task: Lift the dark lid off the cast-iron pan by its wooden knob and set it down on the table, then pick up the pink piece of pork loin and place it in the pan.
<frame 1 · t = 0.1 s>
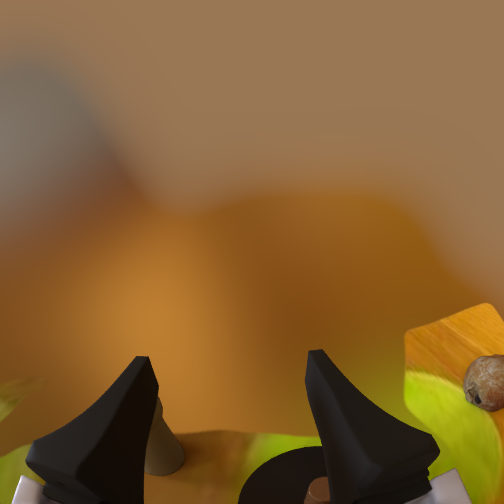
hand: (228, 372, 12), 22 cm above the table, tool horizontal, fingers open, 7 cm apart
cork: (160, 456, 26), on the table
bread roll: (486, 390, 29), on the table
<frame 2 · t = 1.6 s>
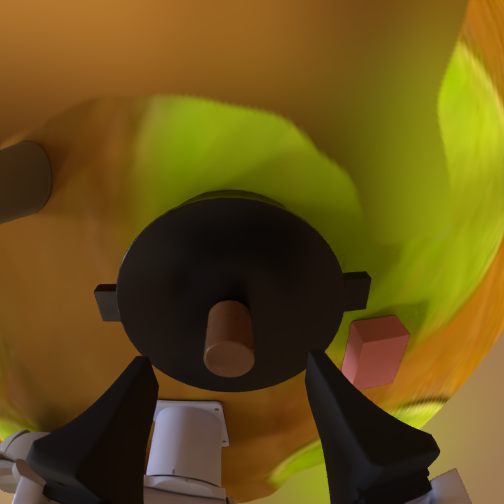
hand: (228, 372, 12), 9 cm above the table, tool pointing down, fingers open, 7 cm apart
pork loin: (368, 343, 24), on the table
pan: (230, 275, 21), on the table
decorative bowl: (79, 449, 32), on the table
pan lid: (230, 311, 17), point 4 cm above the table, touching pan
cork: (26, 177, 17), on the table
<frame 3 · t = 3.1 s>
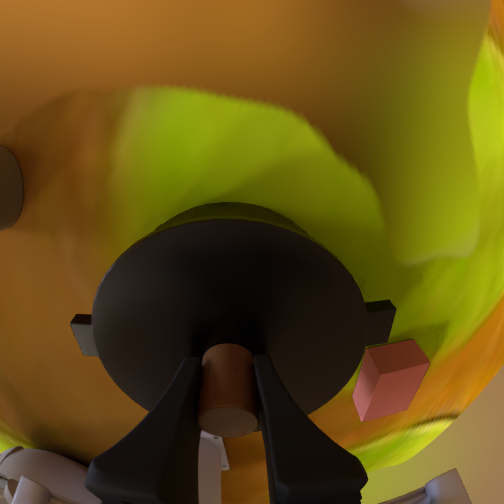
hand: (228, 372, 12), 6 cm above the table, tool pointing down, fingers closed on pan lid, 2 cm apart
pork loin: (382, 369, 21), on the table
pan: (230, 303, 17), on the table
decorative bowl: (74, 465, 29), on the table
pan lid: (228, 352, 13), point 5 cm above the table, touching gripper, pan
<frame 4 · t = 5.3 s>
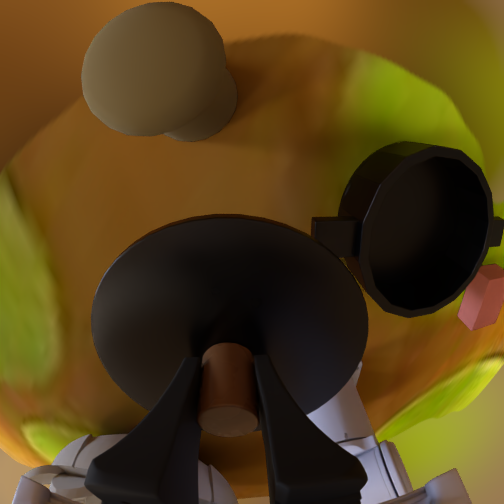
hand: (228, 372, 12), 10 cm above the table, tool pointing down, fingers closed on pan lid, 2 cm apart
pork loin: (477, 289, 24), on the table
pan: (407, 219, 21), on the table
decorative bowl: (151, 449, 32), on the table
pan lid: (228, 352, 13), point 9 cm above the table, touching gripper
cork: (191, 98, 17), on the table
when the fingers open (2 cm above the table, at t = 7.6 s): pan lid stays where it is, point 1 cm above the table.
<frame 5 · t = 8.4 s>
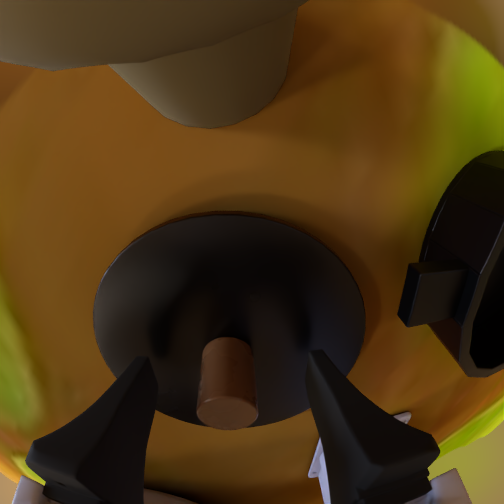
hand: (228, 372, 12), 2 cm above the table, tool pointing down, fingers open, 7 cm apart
pan: (489, 251, 13), on the table
decorative bowl: (155, 495, 25), on the table
pan lid: (228, 347, 14), point 1 cm above the table
cork: (211, 57, 9), on the table
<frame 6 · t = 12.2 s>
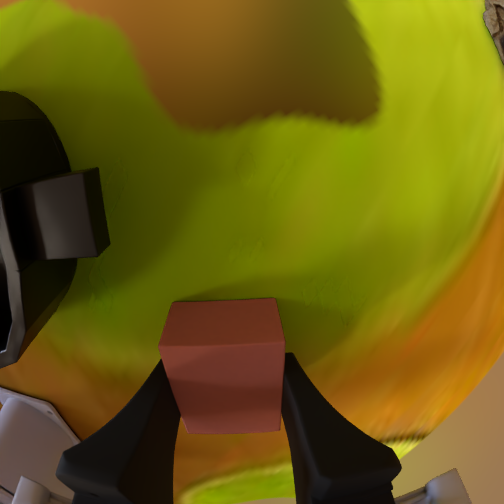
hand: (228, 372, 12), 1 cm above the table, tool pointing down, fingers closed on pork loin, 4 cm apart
pork loin: (228, 351, 13), on the table, touching gripper
when the fingers open (2 cm above the table, at t = 16.8 s): pork loin stays where it is, resting on pan.
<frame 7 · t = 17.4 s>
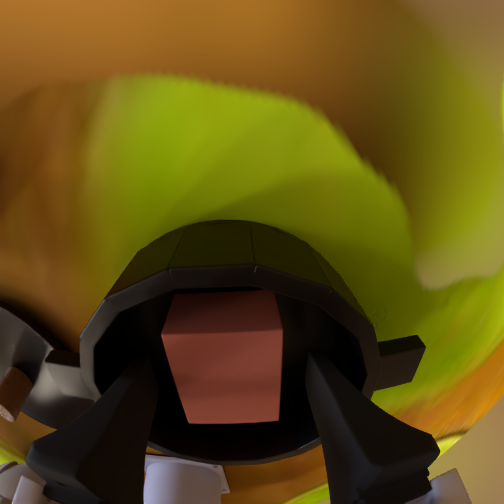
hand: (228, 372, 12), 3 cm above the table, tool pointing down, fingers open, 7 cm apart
pork loin: (228, 342, 14), resting on pan
pan: (229, 337, 14), on the table
decorative bowl: (69, 480, 26), on the table
pan lid: (24, 372, 15), point 1 cm above the table
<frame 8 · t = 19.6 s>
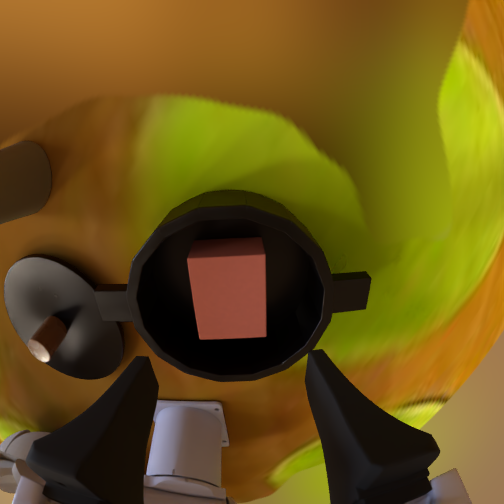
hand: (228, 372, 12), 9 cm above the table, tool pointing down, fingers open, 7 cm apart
pork loin: (230, 278, 20), resting on pan
pan: (230, 275, 21), on the table
decorative bowl: (79, 448, 32), on the table
pan lid: (59, 322, 21), point 1 cm above the table
cork: (26, 177, 17), on the table
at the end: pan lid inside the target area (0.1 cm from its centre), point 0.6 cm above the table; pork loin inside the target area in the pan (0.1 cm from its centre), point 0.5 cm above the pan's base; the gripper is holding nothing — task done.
